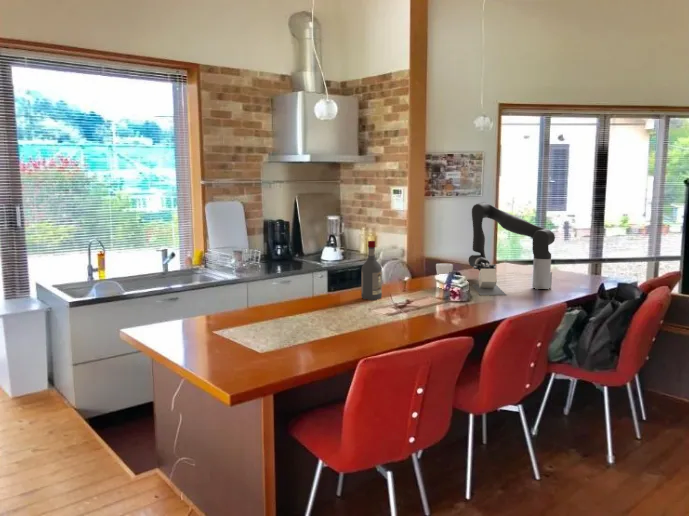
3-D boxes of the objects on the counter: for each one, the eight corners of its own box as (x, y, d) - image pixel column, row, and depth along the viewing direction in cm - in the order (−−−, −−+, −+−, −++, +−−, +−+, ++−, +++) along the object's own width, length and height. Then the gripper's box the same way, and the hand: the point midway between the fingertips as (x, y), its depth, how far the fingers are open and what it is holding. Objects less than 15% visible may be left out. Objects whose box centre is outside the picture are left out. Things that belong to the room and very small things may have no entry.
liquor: (359, 299, 303) (359, 241, 298) (367, 295, 311) (367, 239, 306) (375, 300, 298) (375, 242, 294) (383, 297, 306) (383, 240, 302)
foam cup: (432, 286, 335) (432, 264, 334) (445, 285, 339) (446, 263, 337) (441, 289, 327) (442, 266, 325) (455, 287, 331) (456, 265, 329)
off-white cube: (478, 275, 331) (480, 268, 324) (492, 275, 331) (495, 268, 324) (479, 288, 328) (482, 281, 320) (494, 288, 327) (496, 281, 320)
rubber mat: (471, 285, 338) (471, 284, 338) (495, 285, 337) (495, 284, 337) (480, 295, 310) (480, 294, 310) (506, 295, 309) (506, 294, 309)
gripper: (470, 258, 343) (475, 262, 325) (493, 258, 342) (499, 262, 325) (470, 270, 344) (475, 275, 326) (493, 270, 343) (499, 275, 326)
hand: (487, 268), depth 326 cm, fingers closed
